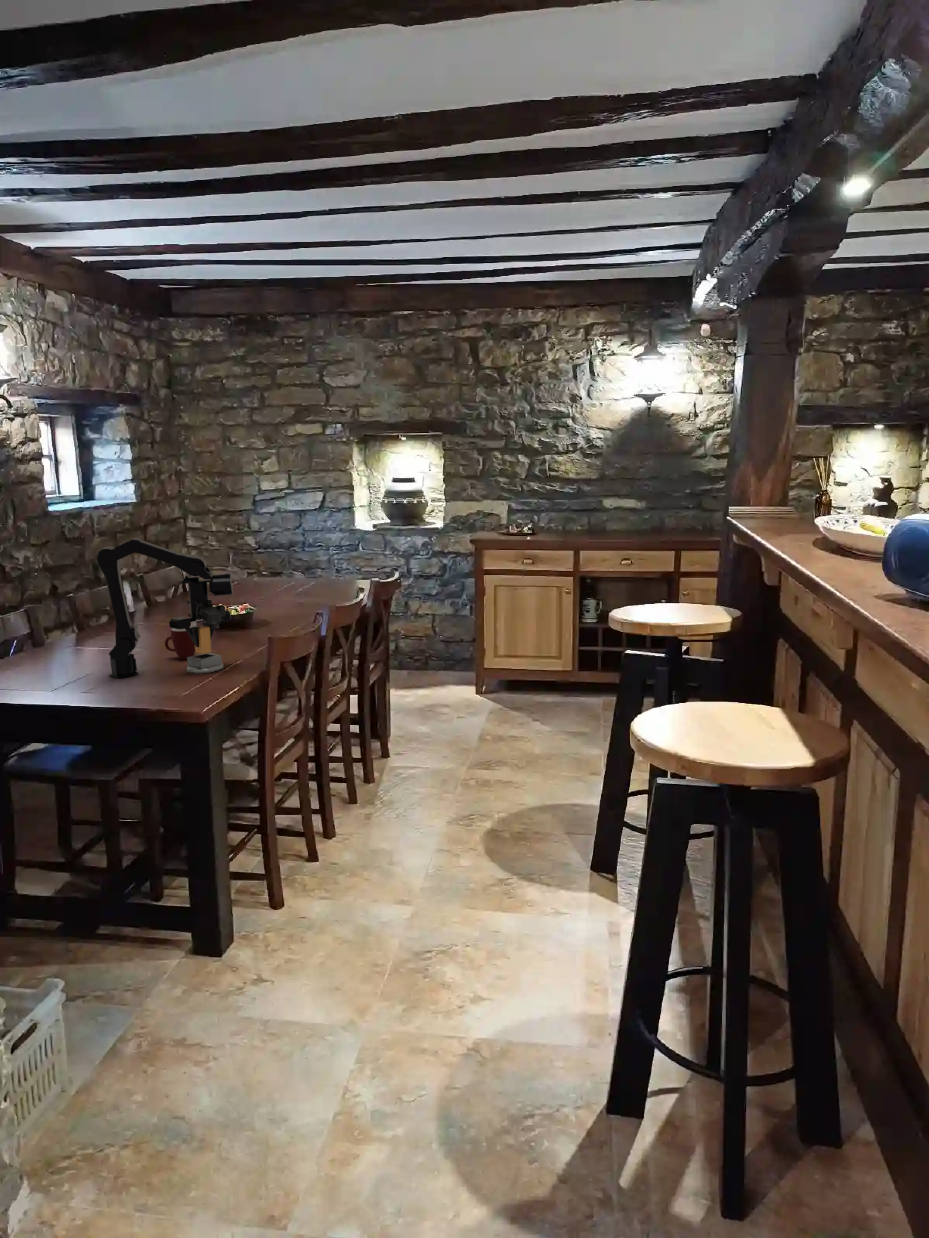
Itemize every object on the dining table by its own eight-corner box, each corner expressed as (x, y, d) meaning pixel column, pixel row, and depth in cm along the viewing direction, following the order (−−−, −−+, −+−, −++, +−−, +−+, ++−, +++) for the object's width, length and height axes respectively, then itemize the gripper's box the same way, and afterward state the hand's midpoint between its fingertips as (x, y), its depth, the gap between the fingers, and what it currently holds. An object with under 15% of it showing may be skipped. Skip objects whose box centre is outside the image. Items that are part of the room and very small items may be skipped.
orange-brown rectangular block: (201, 654, 275) (199, 628, 273) (195, 652, 277) (193, 627, 276) (211, 651, 278) (209, 626, 276) (205, 650, 280) (203, 625, 278)
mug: (163, 662, 289) (160, 632, 287) (168, 656, 297) (165, 627, 295) (197, 660, 290) (194, 630, 288) (200, 654, 298) (197, 625, 296)
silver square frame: (200, 675, 271) (199, 662, 270) (180, 670, 278) (178, 657, 277) (230, 668, 279) (229, 655, 278) (210, 663, 286) (209, 650, 285)
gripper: (187, 604, 262) (191, 655, 265) (239, 594, 276) (243, 643, 279) (166, 600, 269) (170, 650, 272) (218, 591, 283) (222, 639, 286)
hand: (202, 646), depth 277 cm, fingers closed on orange-brown rectangular block, 3 cm apart
